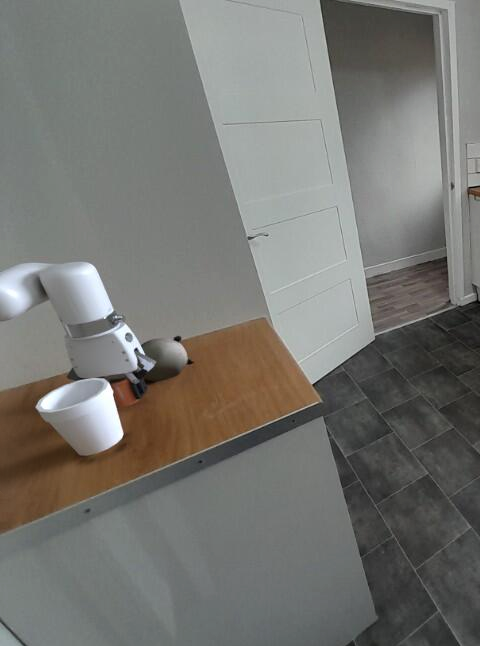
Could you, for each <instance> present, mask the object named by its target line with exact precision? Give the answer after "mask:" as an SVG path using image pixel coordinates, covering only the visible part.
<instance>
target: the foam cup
mask: <svg viewBox="0 0 480 646" xmlns="http://www.w3.org/2000/svg"><path fill="white" fill-rule="evenodd" d="M35 409H36V410H37V412H38V414H39V415H40V417H41V418H42V419H43V420H44V421H45V422H46V423H49V424H50V425H51V426H52V428H53V429H55V431H56V433H58V434H59V435H60V436H61V437H62V438H63V439H64V441H66V443H68V444H69V445H70V447H71V448H72V449H73V450H74V451H75V452H76V453H77V454H78V455H79V456H85V457H88V456H92V455H97V454H100V453H102V452H104V451H106V450H109V449H111V448H112V447H113V446H115V445H116V444H118V443H119V442H120V441H121V440H122V439H123V436H124V430H123V427H122V423H121V420H120V415H119V413H118V408H116V405H115V401H114V397H113V390H112V388H111V386H110V384H109V382H108V381H106V380H105V379H104V378H90V379H84V380H79V381H72V382H70V383H67V384H64V385H62V386H59V387H58V388H56V389H53V390H52V391H51V390H50V392H47V394H45V395H44V396H43V397H41V398H40V399H39V400H38V402H37V403H36V405H35Z"/></svg>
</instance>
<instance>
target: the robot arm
mask: <svg viewBox="0 0 480 646" xmlns="http://www.w3.org/2000/svg"><path fill="white" fill-rule="evenodd" d="M47 301H50V303H51V305H52V307H53V310H54V311H55V313H56V315H57V317H58V319H59V322H60V324H61V326H62V328H63V330H64V332H65V335H64V344H65V345H64V346H65V350H66V354H67V357H68V360H69V362H70V365H71V366H72V367H71V369H70V370H69V372H68V374H67V376H66V378H67V379H68V380H70V381H71V380H72V381H73V382H76V381H79V380H84V379H90V378H105V377H106V376H109V375H116V374H123V373H124V374H125V375H126V376H127V377H128V378H129V379H130V381H131V382H132V384H131V385H130V387H131V389H132V391H133V393H134V395H135V398H136V399H140V400H141V399H142V398H143V397H144V396H145V394H146V393H147V392H148V386H147V383H146V382H145V379H143V377H144V375H145V374H146V373H147V372H148V371H149V370H151V369H152V368H153V367H154V366H155V364H156V363H157V362H156V361H155V360H153V359H151V358H149V357H147V356H145V353H144V351H143V349H142V347H141V345H142V344H141V343H140V342H139V340H138V338H137V337H136V335H135V333H134V332H133V331H132V330H131V328H130V327H129V326H128V325H127V323H126V322H125V321H126V316H125V315H123V314H121V315H120V314H117V311H116V310H115V309H114V307H113V305H112V302H111V300H110V298H109V295H108V292H107V290H106V288H105V285H104V283H103V281H102V279H101V277H100V273H99V272H98V270H97V268H96V267H95V266H94V265H93V264H92V263H90V262H86V261H70V262H63V263H43V262H23V263H19V264H18V263H17V264H15V265H13V266H10V267H8V268H6V269H3V270H1V271H0V323H1V322H2V323H3V322H6V321H11V320H13V319H16V318H18V317H20V316H21V315H23V314H25V313H27V312H29V311H30V310H32V309H33V308H35V307H37V306H39V305H42V304H44V303H46V302H47ZM137 363H141V364H143V365H144V367H143V368H142V369H140V367H139V366H138V365H137Z"/></svg>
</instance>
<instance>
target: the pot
mask: <svg viewBox="0 0 480 646" xmlns="http://www.w3.org/2000/svg"><path fill="white" fill-rule="evenodd" d="M104 379H105V380H106V381H108V382H109V384H110V386H111V388H112V390H113V397H114V401H115V405H116V408H117V409H120V408H122V409H123V408H126V407H129V406H132V405H133V404H136V403H138V402H139V401H140V400H141V399H136V398H135V395H134V393H133V391H132V389H131V387H130V385H131V384H132V382H131V381H130V379H129V378H128V377H127V376H126V375H125V374H124V373H123V374H116V375H109V376H105V378H104Z"/></svg>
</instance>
